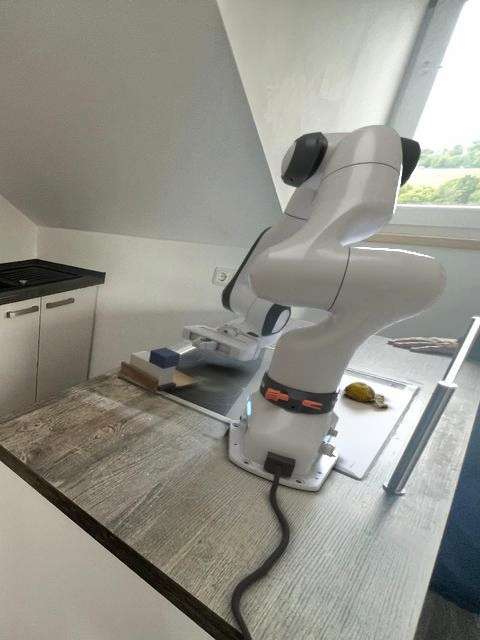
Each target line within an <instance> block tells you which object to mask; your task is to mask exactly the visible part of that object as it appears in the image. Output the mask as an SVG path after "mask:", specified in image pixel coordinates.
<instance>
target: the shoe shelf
mask: <svg viewBox="0 0 480 640" xmlns="http://www.w3.org/2000/svg"><path fill="white" fill-rule="evenodd" d="M119 369H120V370H119V371H120V373H122V374H123V375H125V376H126V377H128V378H129V379H131V380H133V381H135V382H136V383H137V384H139V385H141V386H142V387H144V388H146V389H147V390H149V391H150V392H152V393H156V392H159V391H158V390H157V386H158V380H156V379H155V378H153V377H151V376H149V375H148V374H146V373H144V372H142V371H141V370H139V369H137V368H135V367H133V366H132V365H130V363H128V362H126V361H121V364H120V368H119ZM172 382H174V383H176V387H175V388H178V387H183V386H186V385H191V384H196V383H199V382H200V381H198V380H197V379H195V378H192V377H191V376H189V375H187V374H185V373H184V372H181V371H179V370H177V369H175V371H174V376H173V381H172Z"/></svg>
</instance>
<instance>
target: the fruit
mask: <svg viewBox="0 0 480 640" xmlns="http://www.w3.org/2000/svg"><path fill="white" fill-rule="evenodd" d="M343 392H345V394H346V396H348V397H349V398H351V399H352V400H355V401H356V402H363V403H364V402H368V401H376V402H375V405H376V406H377V407H378V408H380V407H381V408H389V406H388V404H386V403H384V402H385V401H384V400H385V396H384V395H383V394H377V393H376V392H375V390H374V389H373V388H372V386H370V385H368V384H367V383H365V382H362V381H356V382H352V383H350V384H348V385H347V386H345V388H344V389H343ZM348 397H347V398H348Z"/></svg>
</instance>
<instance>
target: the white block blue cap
mask: <svg viewBox="0 0 480 640" xmlns="http://www.w3.org/2000/svg"><path fill="white" fill-rule="evenodd" d="M180 357H181V353H179V352H176V351H174V350H171V349H169V348H168V347H161V348H156V349H151V350H150V352H149V351H147V350H141V351H135V352H131V353H130V359H129V364H130V365H132V366H133V367H135V368H137V369H139V370H141V371H142V372H144V373H146V374H148V375H149V376H151V377H153V378H155V379H156V380H158V386H157V390H158V391H157V392H163V391H166V390H170V389H174V388H177V387H176V383H174V382H172V381H173V376H174V371H175V370H176V367H177V366H179V361H180Z"/></svg>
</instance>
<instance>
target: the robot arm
mask: <svg viewBox="0 0 480 640" xmlns="http://www.w3.org/2000/svg"><path fill="white" fill-rule="evenodd" d="M421 155H422V149H421V145H420V142H418V141H417V140H415V139H411V138H407V137H403V136H401V135H400V133H399V132H398V131H397V129H394V127H391V126H390V125H389V126H388V125H383V124H371V125H366V126H362V127H360V128H357V129H354V130H352V131H351V132H350V131H349V132H348V131H347V132H346V131H345V132H344V131H343V132H341V131H340V132H325V133H323V132H322V131H315V132H309V133H308V132H307V133H305V134H302V135H300V136H299V137H298V138H296V139H295V140H294V141H293V143H292V144H291V145H290V147H289V148H288V149H287V151H286V152H285V154H284V156H283V158H282V160H281V166H280V179H281V181H282V182H283V184H285V185H286V186H290V187H293V188H295V189H294V191H293V193H292V195H291V196H290V198H289V200H288V202H287V204H286V207H285V209H284V211H283V213H282V215H281V217H279V219H278V221H277V222H276V223H275V224H274V225H273V226H268V227H267V228H265V229H264V230H263V231H262V232H261V233H259V235H258V237H257V238H256V240H254V242H253V244H252V246H251V247H250V249H249V251H248V252H247V254H246V256H245V257H244V259H243V261H242V262H241V264H239V267H238V269H237V271H236V272H235V274H234V275H233V277H232V278H231V280H230V281H229V282H228V283H227V284H226V285H225V286H224V288H223V290H222V292H221V297H220V298H221V300H220V301H221V305H222V308H224V309H225V310H227V311H230V312H232V313H234V314H236V315H238V316H240V317H241V318H243V320H242V321H238V322H237V321H236V322H231V323H225V324H222V325H220V326H219V327H218V328H217V329H215V328H213V327H210V326H207V325H202V324H194V325H192V324H191V325H185V326H183V328H182V331H181V338H182V339H184V340H186V341H189V342H191V346H192V347H194V348H196V349H199V350H201V351H202V350H209V351H213V352H215V353H218V354H221V355H223V356H224V357H225V356H226V357H227V358H230V359H232V360H235V361H239V362H247V361H254V360H257V359H258V358H259V355H260V352H261V350H262V349H263V348H267V347H269V346H271V345H272V344H275V343H276V344H275V346H274V351H273V353H272V356H271V360H270V362H269V366H268V369H267V370H265V372H264V373H263V375H262V377H261V381H260V385H259V389H258V390H256V391H253V392H250V393H249V395H248V396H247V398H246V399H247V400H246V404H245V407H244V410H243V413H242V414H241V415H240V416H239V419H231V420H230V422H229V423H230V425H229V426H228V429H227V432H228V435H227V436H228V437H227V438H228V439H227V441H228V459H229V460H230V461H231V462H232V463H233V464H234V465H236V466H238V467H239V468H240V469H241V468H242V469H243V470H245V471H247V472H250V473H251V474H252V475H253V474H254V475H256V476H258V477H261V478H263V479H266V480H268V481H271V482H272V483H271V487H270V490H269V500H270V504H271V507H272V509H273V511H274V513H275V515H276V517H277V518H278V520H279V522H280V523H281V526H282V536H281V540H280V542H279V544H278V546H277V547H276V548H275V549H274V551H273V552H271V554H270V555H269V556H268V557H267V558H266V560H265V561H264V562H263V563H262V565H261V566H260V567H258V569H256V570H255V571H253V572H251V573H249V575H247V576H246V577H244V578H243V579H242V580H241V581H240V582H239V583H238V584H237V585H236V586H235V588H234V590H233V593H232V595H231V600H230V603H231V605H230V606H231V610H232V614H233V616H234V619H235V621H236V623H237V626H238V627H239V630H240V632H241V634H242V637H243V640H253V637H252V635H251V632H250V630H249V628H248V626H247V624H246V621H245V620H244V617H243V616H242V613H241V610H240V600H241V596H242V594H243V592H244V591H245V589H247V587H248V586H250V585H251V584H252V583H254V582H255V581H257V580H259V578H261V577H263V575H265V574H266V573H267V572H268V571H269V570H270V568H271V567H272V566H273V565H274V563H275V562H276V561H277V560H278V559H279V558H280V557H281V555H282V554H284V552H285V550H286V549H287V547H288V546H289V545H288V544H289V542H290V535H291V530H290V526H289V522H288V521H287V519H286V517H285V515H284V514H283V513H282V511H281V509H280V507H279V505H278V503H277V490H278V487H279V485H282V486H283V485H284V486H286V487H290V488H293V489H297V490H301V491H307V492H317V491H319V490H320V488H321V487H322V486H323V484H324V482H325V481H326V479H327V478H328V476H329V474H330V473H331V472H332V470H333V468H334V467H335V465H336V464H337V463H338V460H339V456H340V454H339V452H337V451H336V450H335V449H336V447H337V445H335V444H334V443H331V439H332V438H336V437H337V436H338V433H339V430H338V429H336V427H337V424H338V422H339V419H340V417H339V416H338V414H337V413H336V412H335V411H334V408H335V405H336V403H337V402H338V400H339V397H340V395H339V394H340V391H341V389H340V387H339V386H340V384H341V382H342V379H343V377H344V375H345V372H346V371H347V368H348V367H349V365H350V363H351V361H352V359H353V357H354V356H355V354H356V353H357V351H358V350H359V349H360V348H361V347H362V345H364V344H365V343H366V342H367V341H368V340H369V339H371V338H372V337H373V336H375V335H377V333H379V332H381V331H383V330H384V329H386V328H387V327H391V326H393V325H394V324H398V323H399V322H402V321H405V320H409V319H411V318H415V317H417V316H419V315H421V314H423V313H425V312H426V311H428V310H429V309H431V308H432V307H433V306H434V305H435V304H436V303H437V302H438V301H439V300H440V299H441V297H442V296H443V294H444V292H445V289H446V286H447V280H448V279H447V277H448V276H447V271H446V270H445V268H444V266H443V264H442V262H441V261H440V260H439V259H438V258H437V257H433V256H429V255H424V254H420V253H416V252H411V251H407V250H402V249H389V248H372V247H357V246H355V247H353V246H348V245H352V244H354V243H355V244H356V243H358V242H362V241H364V240H366V239H368V238H370V237H372V236H374V235H376V234H377V233H379V232H380V231H382V230H383V229H385V228H386V226H388V224H389V223H390V222H391V220H392V219H393V217H394V214H395V210H396V204H397V199H398V194H399V189H401V188H402V187H404V185H406V183H407V182H408V181H409V180H410V178H411V177H412V176H413V175H414V173H415V171H416V169H417V167H418V165H419V162H420V159H421ZM292 308H299V309H305V310H306V309H307V310H314V311H315V310H316V311H321V312H327V313H328V314H327V315H326V316H325V317H324V318H323V319H322V320H320V321H318V322H315V323H313V324H308V325H304V326H298V327H296V328H293V329H290V330H288V331H286V332H284V333H283V334H282V330H283V329H284V328H285V326H286V325H287V324H288V322H289V320H290V318H291V316H292Z"/></svg>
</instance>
